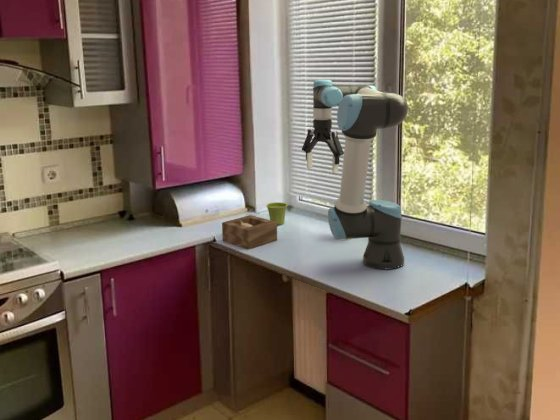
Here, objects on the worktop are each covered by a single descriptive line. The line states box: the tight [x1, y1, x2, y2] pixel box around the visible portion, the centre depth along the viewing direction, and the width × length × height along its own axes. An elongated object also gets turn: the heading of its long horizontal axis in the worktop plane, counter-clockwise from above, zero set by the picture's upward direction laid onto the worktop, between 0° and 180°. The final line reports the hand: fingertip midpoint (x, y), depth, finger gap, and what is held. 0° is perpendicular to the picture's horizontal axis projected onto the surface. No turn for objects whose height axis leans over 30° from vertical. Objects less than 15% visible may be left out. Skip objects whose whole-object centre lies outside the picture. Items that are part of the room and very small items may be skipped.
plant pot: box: [266, 202, 288, 226], centre depth 291 cm, size 9×9×9 cm
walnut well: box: [221, 214, 278, 250], centre depth 267 cm, size 16×16×8 cm
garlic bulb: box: [240, 220, 252, 227], centre depth 267 cm, size 7×6×8 cm
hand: (322, 170), depth 266 cm, fingers open, 13 cm apart
